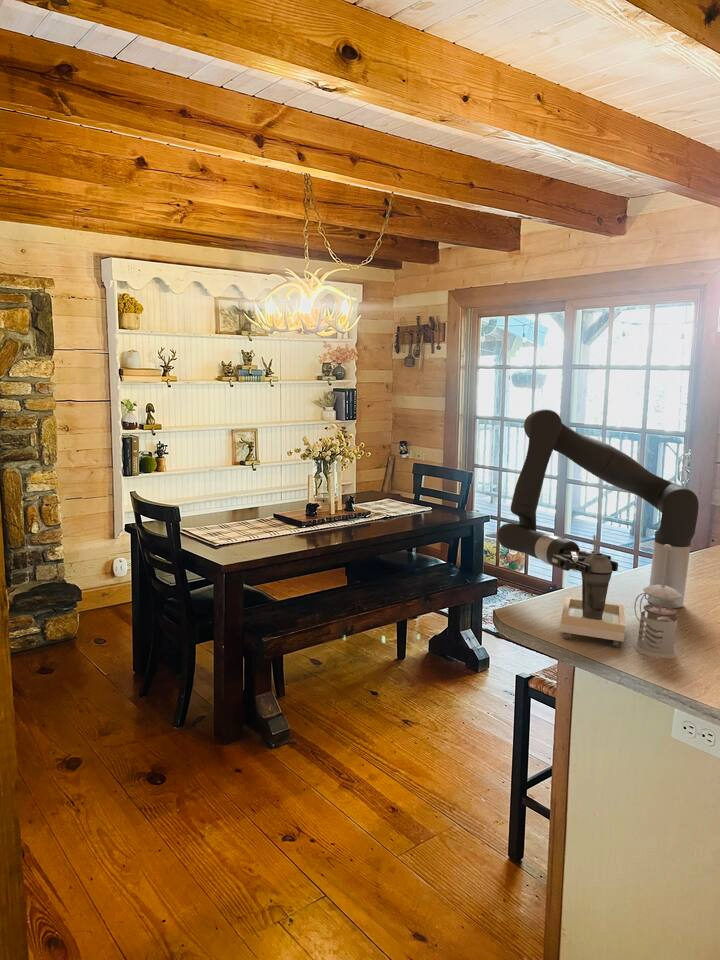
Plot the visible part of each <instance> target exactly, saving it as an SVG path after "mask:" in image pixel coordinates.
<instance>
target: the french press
mask: <svg viewBox="0 0 720 960" xmlns="http://www.w3.org/2000/svg"><path fill="white" fill-rule="evenodd" d="M663 549H664V550H667V551H668V550H672V547H671V546H670V545H668V544H665V545H664V546H663ZM667 551H666V559H665V568H666V560H667ZM665 568H664V576H663V585H651V586H649V585H648V586H646V587H644V588H643V589H642V591H643V592H642V593H640V594H639V595H637V597H636V598H635V602H634V607H633V608H634V614H635V617H636V619H637V620H638V622H639V629H638V630H639V631H638V637H637V638H638V639H637V641H636V642H634V643H633V645H632V647H633V650H635V651H636V652H638V653H640V654H642V655H645V656H648V657H652V658H657V659H673V658H674V659H675V658H677V657H678V656H679V652H678V651H677V650H676V649H675V644H676V641H675V640H676V635H677V628H678V622H679V621H678V620H679V618H678V617H677V616H676V615H677V614H678V612H677V610H676V609H675V608H670V607H666V606H663V605H662V606H661V602H662V599H665V600H677V599H680V597H681V596H682V595H681V594H680V593H679V592H677V591H676V590H675V589H673V588H671V587H668V586H665V585H664V577H665ZM648 595H649V596H650V598H651V596H652V597H655V598H659V599H661V601H660V605H655V604H652V603H649V604H644V606H642V601H643V599H645V600H647V601H648V599H650V598H648V597H647V596H648ZM640 596H642V597H641V598H640V600H639V601H640V603H639V610H640V611H639V612H640V618H639V617H638V615H637V611H636V606H637V601H638V599H639V597H640ZM642 608H643V611H642ZM646 612H647V615H646ZM661 617H662V618H668V619H670V620H671V621H670V620H668V619H658V618H661ZM644 629H645V630H644Z"/></svg>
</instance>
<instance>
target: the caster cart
mask: <svg viewBox="0 0 720 960" xmlns="http://www.w3.org/2000/svg"><path fill="white" fill-rule="evenodd" d="M562 608H563V609H562V613H561V621H560V630H559V631H560V632H561V633H563V639H564V640H565V639H566V640H570V635H571V634H574V635H580V636H586V637H591V638H599V639H603V640H604V639H605V640H611V641H613V642H612V647H615V648H619V646H620V642H624V640H625V633H626V631H625V630H626V616H625V605H624V604H621V603H619V604H618V603H612V602H606V601H605V606H604V611H603V615H602V619H599V620H595V619H588V618H585V617H583V610H582V598H577V597H570V596H565V598H564V603H563V607H562Z"/></svg>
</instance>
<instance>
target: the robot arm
mask: <svg viewBox="0 0 720 960" xmlns="http://www.w3.org/2000/svg"><path fill="white" fill-rule="evenodd" d="M523 428H524V429H523V430H524V432H525V435H526V436H527V437H528V445H527V451H526V456H525V460H524V463H523V466H522V469H521V471H520V473H519V476H518V478H517V482H516V485H515V488H514V491H513V495H512V500H511V503H510V512H511V513H512V514H513V515H515V516H517V517H518V521H519V522H518V523H519V524H517V523H512V522H510V523H509V522H508V523H504V524H503V525H501V526H500V527H499V529H498V531H497V541H498V542H499V544H500V545H501V546H502V547H503V548H505V549H507V550H510V551H511V550H512V551H514V552H518V553H523V554H524V555H528V556H530V557H532V558H535V559H537V560H540V561H541V562H543V563H545V564H547V565H550V566H553V567H554V568H558V569H559V570H562V571H567V572H568V571H571V570H572V571H573V572H580V573H581V572H582V573H585V574H590V573H591V565H589V564H586V563H583V561H584V559H585V558H586V557H587V556H589V555H591V554H594V550H591V551H590V552H588V551H586V550H581V549H580V547H579V545H578V544H577V543H576V542H574V541H571V540H568V539H567V538H566V539H565V538H563V537H561V536H558V535H554V534H553V535H552V534H548V533H545V532H542V531H540V530H539V531H537V509H538V505H539V502H540V497H541V493H542V488H543V485H544V484H543V483H544V480H545V476H546V473H547V468H548V465H549V462H550V459H551V457H552V453H553V451H556V452H558V453H559V454H561V455H563V456H564V457H566V458H568V459H569V460H570V461H571V462H573V463H575V464H576V465H578V466H579V467H580V468H582V469H583V470H585V471H586V472H588V473H590V474H592V475H593V476H595V477H596V478H598V479H599V480H602V481H604V482H605V483H607V484H609V485H612V486H613V487H616V488H618V489H621V490H624V491H627V492H630V493H632V494H634V495H636V496H638V497H639V498H641V499H642V500H644V501H646V502H647V503H648V504H649V505H651V506H652V507H654V508H655V509H656V510H657V511H659V513H661V518H660V524H659V528H658V529H657V530H656V531H655V534H654V542H653V551H652V560H651V567H650V568H651V570H650V577H649V585H648V586H651V585H663V576H664V568H665V559H666V551H667V550H664V549H663V546H664V545H665V544H668V545H670V546H671V547H672V550H668V551H667V560H666V568H665V577H664V585H665V586H668V587H671V588H673V589H675V590H676V591H677V592H679V593H680V594H681V595H682V596H681V597H680V599H677V600H665V599H662V602H661V606H662V605H663V606H666V607H670V608H672V609H678V608H682V607H684V602H685V595H686V594H685V593H686V587H687V586H686V585H687V578H688V569H689V561H690V552H691V545H692V540H693V538H694V536H695V534H696V528H697V520H698V515H699V509H700V508H699V499H698V496H697V495H696V493H694V491H692V490H691V489H689V488H687V487H685V486H683V485H680V484H677V483H675V482H672V481H669V480H667V479H665V478H662V477H661V476H658V475H656V474H654V473H652V472H650V471H649V470H648V469H647V468H645V467H644V466H642V465H641V464H640V463H639V462H637V461H636V460H635V459H633V458H632V457H631V456H629V455H627V454H626V453H625V452H623V451H622V450H619V449H617V448H615V446H612V445H610V444H608V443H606V442H603V441H601V440H598V439H596V438H593V437H590V436H588V435H585V434H582V433H579V432H577V431H575V430H573V429H572V428H570V427H569V426H567V425H566V424H564V423H563V422H562V419H561V417H560V416H559V413H557V412H556V411H554V410H552V409H549V408H544V409H540V410H538V409H537V410H535V411H533V412H531V413H530V414H528V416H526V418H525V420H524V423H523ZM596 553H599V554H602V555H604V556H606V557H607V558H608V559H609V561H610V563H611V565H612V572H618V571H619V569H618V568H619V562H617V561H615V560H612V555H608V554H604V553H601V552H598V551H596ZM647 598H650V596H649V595H647ZM660 601H661V599H659V598H655V597H652V596H651V598H650V599H647V602H649V604H654V605H660Z"/></svg>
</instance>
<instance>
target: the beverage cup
mask: <svg viewBox="0 0 720 960" xmlns="http://www.w3.org/2000/svg"><path fill="white" fill-rule="evenodd" d="M596 536H597V535H595V534H594V535H593V536H592V537H593V538H592V539H593V551H594V554H591V555H589V556H587V557H586V558H585V559H584V561H583V563H586V564H589V565H591V573H590V574H585V573H582V572H580V573H581V574H580V575H581V581H582V583H581V585H582V586H581V587H582V589H581V590H582V591H581V592H582V593H581V595H582V596H581V599H582V610H583V617H585V618H588V619H595V620H599V619H602V615H603V611H604V606H605V602H606V599H607V595H608V590H609V583H610V580H611V578H612V574H613V571H612V565H611V563H610V561H609V559H608V558H607V557H606V556H604V555H602V554H603V553H602V554H599V553H600V552H599V553H596V552H597V540H596V539H597V538H596Z"/></svg>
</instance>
